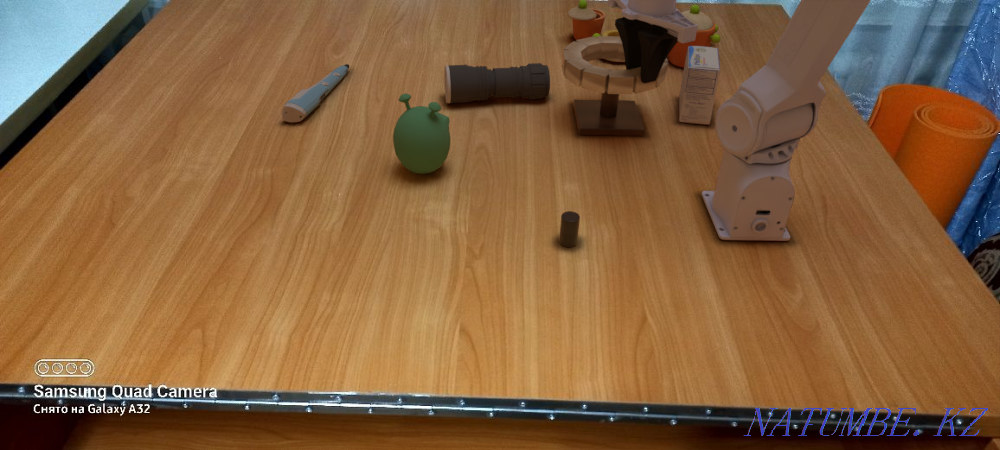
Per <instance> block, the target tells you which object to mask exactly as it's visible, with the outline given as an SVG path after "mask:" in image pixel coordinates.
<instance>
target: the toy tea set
mask: <svg viewBox="0 0 1000 450" xmlns="http://www.w3.org/2000/svg"><path fill="white" fill-rule="evenodd" d="M577 5H578V6H575V7H572V8H571V9H569V10H568V11H567V14H566V15H567V17H568V18H570V19H571V21H572V22H571V23H572V35H573V38H574V40H575V41H576V40H579V39H584V38H589V37H596V38H597V36H618V37H620V35H619V33H618V30H617V29H608V30H605V31H603V27H604V23H605V20H606V15H607V14H606V13H605V12H604V11H602V10H600V9H597V8H590V7H588V1H586V0H579V1H578V3H577ZM681 13H682V14H683V15H684V16H685V17H686V18H687V19H689V20H690V21H691V22H693V23H694V24H696V25H698V27H697V33H696V38H695V41H691V42H687V43H681V42H679V41H678V42H677V43H676V44H675V46H674V47H673V48H672V50H671V51H670V53H669V54H668V62H669V63H671V64H672V65H674V66H676V67H678V68H683V69H684V66H685V60H686V54H687V49H688V46H704V47H711V44H712V43H713V44H719V43H720V42H721V39H722V37H721V36H720V34H718V33H717V32H718V31H719V26H718V24H715V22H714V21H713V20H712V19H711V18H710V17H709V16H708V15H707V14H706V13H704V12H702V11H701V8H700V6H699V5H698V4H692V5H691V6H690V9H689V10H685V11H682V12H681ZM602 31H603V33H602ZM620 39H621V38H620ZM605 61H609V62H614V63H625V60H620V59H605Z"/></svg>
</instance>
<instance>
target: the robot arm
mask: <svg viewBox="0 0 1000 450" xmlns="http://www.w3.org/2000/svg"><path fill="white" fill-rule="evenodd" d="M871 1H872V0H800V2H799V3H798V5H797V6H796V8H795V10H794V12H793V14H792V16H791V17H790V18H789V19H790V20H789V21H788V23H787V25H786V27H785V29H784V30H783V32H782V34H781V35H780V38H779V39H778V41H777V43H776V45H775V46H774V49H773V51H772V52H771V54H770V56H769V58H768V59H767V61H766V62H765V65H764V66H762V67H761V68H759V70H757V71H756V72H754V73H753V74H752V75H750V77H748V78H746V79H745V80H744V81H743V82H742V83H741V84H740V85H739V86H738V88H737V90H736V91H735V93H734V94H733V95H732V96H731V97H730V98H728V99H726V100H725V101H723V102H722V103H721V104H720V105H719V107H718V109H717V111H716V114H715V120H714V121H715V123H714V124H715V132H716V135H717V138H718V141H719V142H720V147H721V148H722V149H723V153H722V156H721V160H720V165H719V170H718V174H717V178H716V181H715V187H714V190H703V191H701V198H702V200H703V202H704V205H705V208H706V210H707V212H708V214H709V217H710V219H711V222H712V224H713V226H714V229H715V231H716V234H717V237H718V238H719V239H720V240H723V241H774V242H775V241H776V242H781V241H783V242H788V241H790V239H791V234H790V232H789V230H788V229H787V227H786V226H787V223H788V221H789V217H790V213H791V210H792V207H793V204H794V201H795V197H796V190H795V187H794V184H793V181H792V178H791V174H790V172H791V171H790V167H791V162H792V159H793V156H794V152H795V150H797V149H798V147H799V144H800V140H801V139H802V138H805V137H807V136H809V135H810V134H811V133H812V132H813V131H814V130H815V128H816V126H817V123H818V120H819V113H820V112H819V111H820V107H821V104H822V102H823V100H825V97H826V96H827V90H826V89H825V87H824V86H823V84H822V82H821V80H822V78H823V77H824V75H825V73H826V72H827V70H828V69H829V67H830V65H831V64H832V62H833V60H834V59H835V58H836V56H837V55H838V53H839V51H840V50H841V48H842V46H843V45H844V43H845V42H846V40H847V38H848V37H849V36H850V34H851V32H852V31H853V29H854V28H855V27H856V25H857V23H858V22H859V20H860V18H861V17H862V15H863V13H864V12H865V10H866V9H867V7H868V6H869V4H870V2H871ZM676 5H677V0H607V6H608V7H610V8H613V9H614V8H618V9H619V10H621V14H620V15H621V16H622V17H619V18H618V17H617V18H616V19H615V22H614V26H615V29H616V30H618V33H619V35H620V38H621V41H622V45H623V50H624V56H625V62H624V63H625V70H630V69H634V68H638V67H641V72H640V76H641V82H643V83H649V82H653V81H656V79H657V77H658V74H659V72H660V70H661V68H662V66H663V63H664V61H665V60H666V58H667V59H668V57H669V53H670V51H671V50H672V48H673V47H674V46H675V44H676V43H677V42H678V41H679V42H681V43H687V42H691V41H695V38H696V33H697V27H698V25H696V24H694V23H693V22H691V21H690V20H689V19H687V18H686V17H685V16H684V15H683V14H682V12H681V11H680V10H679V9H678V8H677V7H676Z"/></svg>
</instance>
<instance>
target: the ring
mask: <svg viewBox="0 0 1000 450" xmlns="http://www.w3.org/2000/svg"><path fill="white" fill-rule="evenodd" d="M600 59H603V60H606V59H620V60H625V56H624V50H623V45H622V41H621V39H620V37H618V36H602V35H601V36H597V38H596V37H589V38H584V39H579V40H576V39H575V41H572V42H570V43H569V44H567V46H565V47H564V48H563V49H562V59H561V70H562V74H563V77H564V78H565V79H566V80H567V81H569V82H571V83H572V84H574V85H575V86H577V87H581V88H582V89H584V90H589V91H592V92H597V93H600V94H602V93H605V92H606V91H607V93H608V94H619V95H633V94H636V95H637V94H642V93H644V92H648V91H652V90H655V89H658V88H659V87H660V85H661V84H662V83H663V82H664V81H665V80H666V76H667V70H668V64H669V59H668V57H667V58H666V60H665V61H664V63H663V66H662V68H661V70H660V72H659V74H658V77H657V79H656V81H653V82H649V83H643V82H641V76H640V72H641V67H638V68H634V69H630V70H626V69H615V68H614V69H613V68H612V69H610V68H607V67H603V66H597V65H594V64H592V63H590V62H591V61H595V60H600Z"/></svg>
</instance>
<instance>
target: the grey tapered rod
mask: <svg viewBox="0 0 1000 450" xmlns="http://www.w3.org/2000/svg"><path fill="white" fill-rule="evenodd" d="M349 69H350V64H349V63H346V64H343V65H340V66H338V67H336V68H335V69H333V70H332V71H330V72H329V73H328V74H326V76H324V77H323V78H321V79H320V80H318V82H316V83H315V84H313V85H311V86H309V87H307V88H302V89H300V90H299V91H298V92H296V94H295V95H294V96H292V97H291V98H290V99H289V100H288V101H287V102H286V103H284V105H283V106H282V111H281V117H282V119H283V120H284V121H285V122H288V123H298V122H301V121H303V120H304V119H305V118H307V117H308V116H309V115H310V114H311V113H312V112H313V111H314V110H315V109H316V108H317V107H318V106H319V105H320V103H321V102H322V101H323V100H324V99H325V97H326V96H328V94H330V92H331V91H332V90H333V89H334V88H335V87H336V86H337V85H338V84H339V83H340V82H341V81H342V79H344V78H345V76H346V75H347V73H348V72H349Z"/></svg>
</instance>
